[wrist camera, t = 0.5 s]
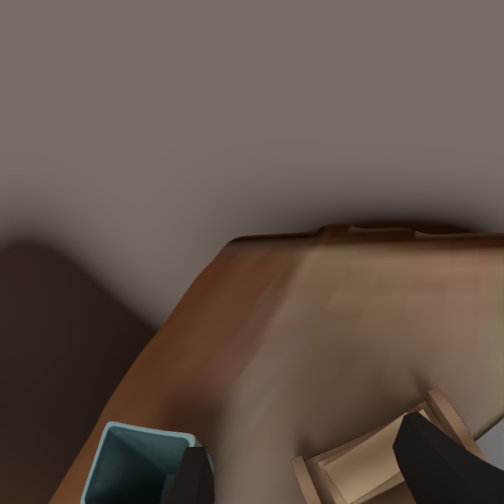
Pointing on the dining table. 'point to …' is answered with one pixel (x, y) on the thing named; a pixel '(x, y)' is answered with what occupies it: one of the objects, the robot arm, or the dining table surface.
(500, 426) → the slate coaster
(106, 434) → the flower pot
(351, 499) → the offcut board upper
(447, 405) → the rack
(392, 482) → the offcut board lower
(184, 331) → the dining table surface
